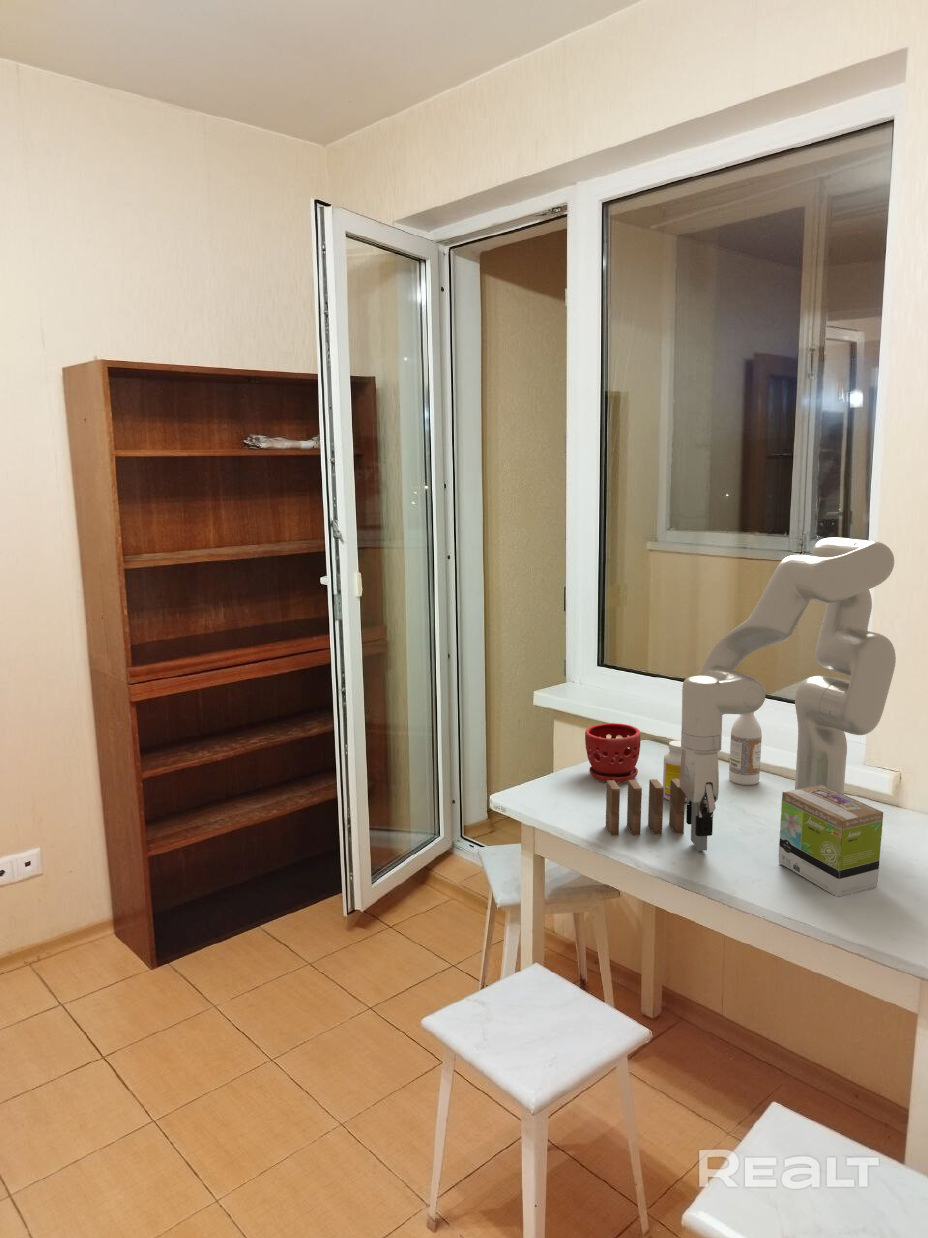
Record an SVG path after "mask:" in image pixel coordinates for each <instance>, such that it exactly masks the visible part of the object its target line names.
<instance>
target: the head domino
mask: <svg viewBox="0 0 928 1238" xmlns="http://www.w3.org/2000/svg"><path fill="white" fill-rule="evenodd" d="M702 800H706V798H702ZM701 806H702V809H703V807H706V804H701ZM696 816H698V813H697V803H693V802H692V815H691V824H690V841H691V843H692V844H693V845H694V847H695V848H696V849H697V850H698V851H700V852H701V851H708V836H696V834H695V824H696Z"/></svg>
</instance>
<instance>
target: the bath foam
mask: <svg viewBox="0 0 928 1238" xmlns="http://www.w3.org/2000/svg"><path fill="white" fill-rule="evenodd" d="M754 714H755V712H752V713H749V714H739V716H737V718H736V720H735V721H734V722H733V724H732V728H731V731H730V745H729V767H728V768H729V769H728V771H729V772H728V779H729V780H730V781H731V782H732V783H734V784H737V785H742V786H751V785H757V784H758V783H759V782H760V772H761V757H762V755H761V754H762V752H761V751H762V737H763V735H762V728H761V725H760V722H759V721H758V720H757V718H756V716H755V715H754Z"/></svg>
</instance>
